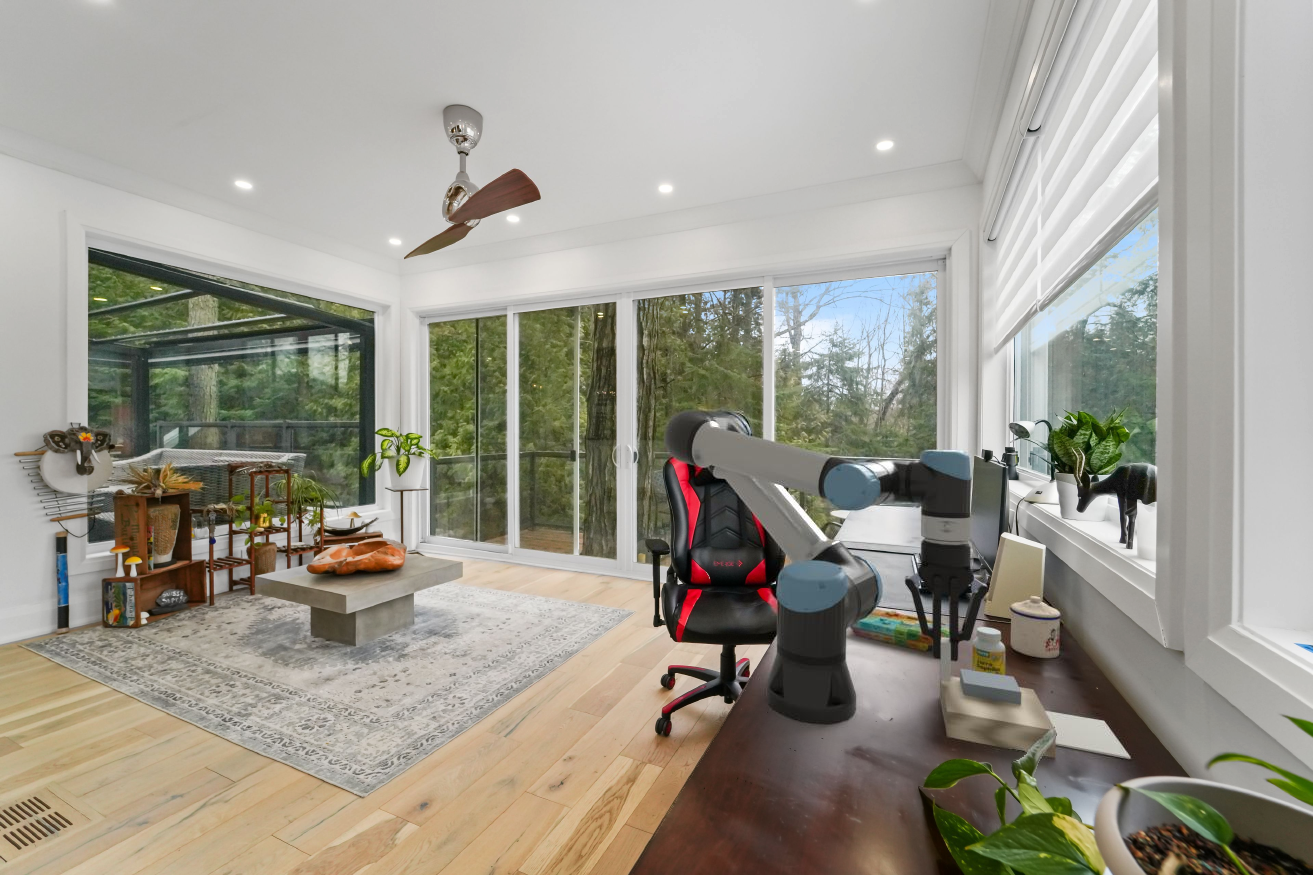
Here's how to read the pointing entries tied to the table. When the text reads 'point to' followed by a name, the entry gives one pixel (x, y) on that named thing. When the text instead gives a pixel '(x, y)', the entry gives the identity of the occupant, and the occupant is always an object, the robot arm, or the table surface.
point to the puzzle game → (896, 629)
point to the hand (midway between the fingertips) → (945, 677)
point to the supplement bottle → (988, 652)
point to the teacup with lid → (1035, 628)
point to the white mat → (1086, 735)
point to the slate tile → (990, 686)
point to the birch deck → (994, 718)
